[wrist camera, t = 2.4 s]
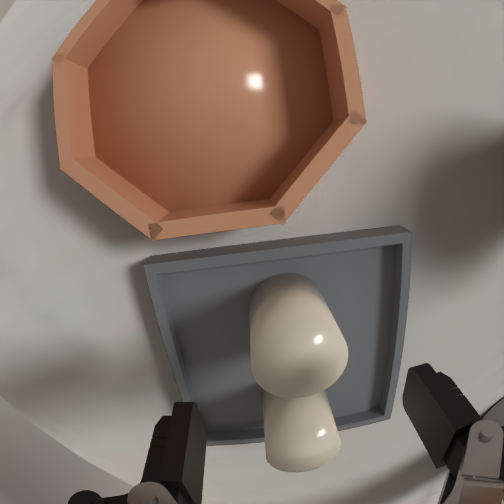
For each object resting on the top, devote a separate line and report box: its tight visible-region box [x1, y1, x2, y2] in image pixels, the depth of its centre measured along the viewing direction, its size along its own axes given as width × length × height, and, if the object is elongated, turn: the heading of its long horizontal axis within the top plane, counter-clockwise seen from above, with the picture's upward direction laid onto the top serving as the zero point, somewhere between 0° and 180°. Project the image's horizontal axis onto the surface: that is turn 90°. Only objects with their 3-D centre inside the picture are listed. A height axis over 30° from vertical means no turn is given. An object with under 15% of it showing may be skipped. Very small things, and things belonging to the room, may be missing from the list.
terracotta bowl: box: [52, 0, 367, 241], centre depth 14 cm, size 15×15×4 cm
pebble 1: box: [249, 273, 348, 398], centre depth 16 cm, size 4×4×6 cm
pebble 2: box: [262, 389, 341, 472], centre depth 18 cm, size 4×4×6 cm
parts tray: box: [143, 226, 412, 446], centre depth 20 cm, size 15×15×2 cm
